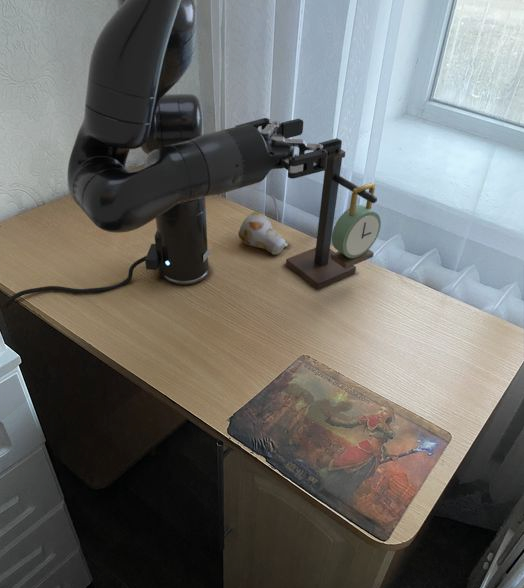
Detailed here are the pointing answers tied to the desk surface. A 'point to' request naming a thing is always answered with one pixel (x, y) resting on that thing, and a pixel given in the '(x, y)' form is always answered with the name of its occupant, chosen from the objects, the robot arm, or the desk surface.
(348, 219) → the clock
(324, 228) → the rack
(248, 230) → the spotted gourd
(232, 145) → the robot arm
